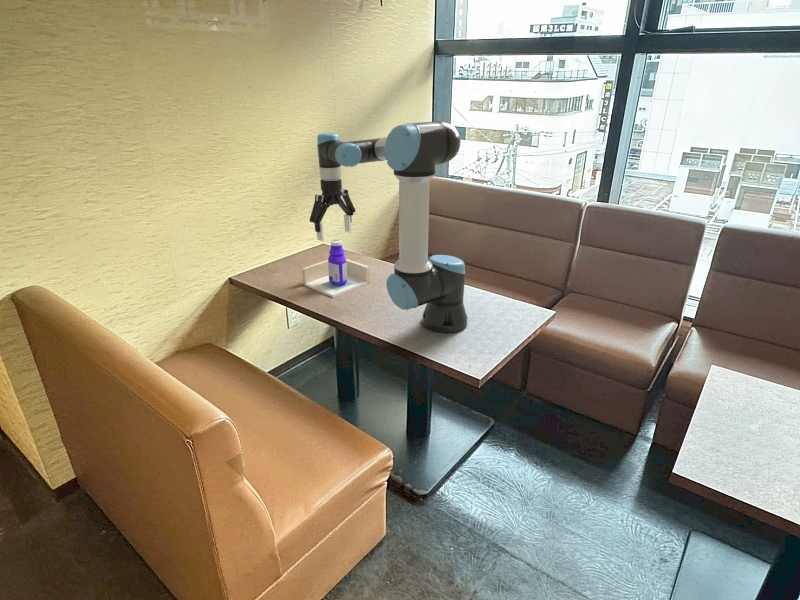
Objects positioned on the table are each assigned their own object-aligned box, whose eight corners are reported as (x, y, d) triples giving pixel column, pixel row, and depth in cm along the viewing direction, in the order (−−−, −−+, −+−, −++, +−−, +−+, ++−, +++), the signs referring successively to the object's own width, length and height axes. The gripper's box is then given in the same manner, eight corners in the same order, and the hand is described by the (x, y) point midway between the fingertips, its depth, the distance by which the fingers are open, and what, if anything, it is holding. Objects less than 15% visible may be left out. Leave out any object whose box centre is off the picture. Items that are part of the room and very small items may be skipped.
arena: (369, 282, 201) (369, 266, 198) (333, 297, 188) (332, 280, 185) (339, 271, 212) (338, 255, 209) (303, 284, 199) (301, 268, 196)
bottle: (350, 283, 198) (348, 241, 190) (339, 288, 194) (337, 244, 186) (337, 279, 202) (334, 237, 194) (326, 283, 198) (323, 240, 190)
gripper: (349, 172, 191) (352, 226, 199) (296, 182, 174) (301, 241, 183) (363, 174, 186) (365, 230, 195) (309, 185, 169) (314, 245, 178)
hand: (334, 235), depth 189 cm, fingers open, 13 cm apart
